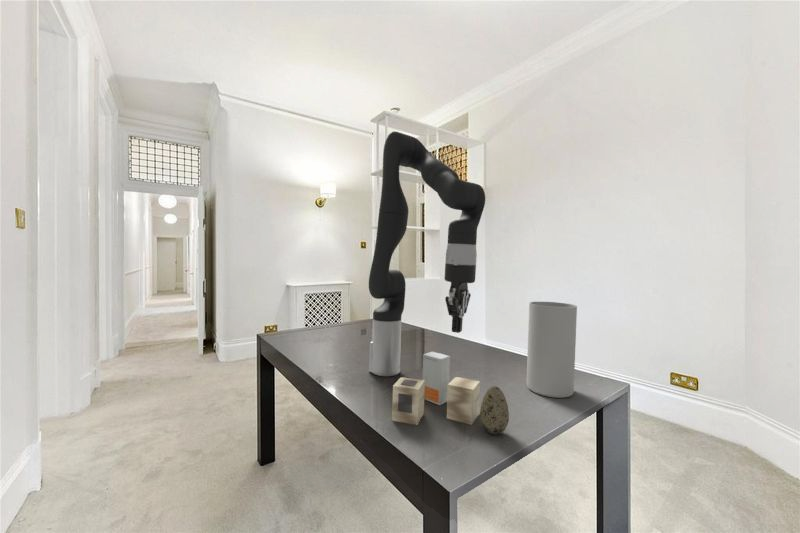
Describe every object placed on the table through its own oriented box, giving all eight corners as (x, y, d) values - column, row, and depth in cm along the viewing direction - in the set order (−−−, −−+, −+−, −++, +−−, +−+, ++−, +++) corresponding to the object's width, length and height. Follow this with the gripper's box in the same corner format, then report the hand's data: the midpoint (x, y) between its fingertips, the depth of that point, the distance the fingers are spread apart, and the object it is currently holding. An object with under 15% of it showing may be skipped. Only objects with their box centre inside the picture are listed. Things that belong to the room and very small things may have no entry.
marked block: (391, 420, 75) (392, 385, 75) (399, 409, 81) (400, 376, 81) (417, 425, 74) (418, 389, 73) (423, 413, 79) (424, 379, 79)
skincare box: (421, 398, 88) (422, 353, 87) (431, 394, 91) (432, 350, 91) (439, 406, 84) (441, 359, 83) (449, 401, 87) (450, 355, 86)
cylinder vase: (584, 396, 92) (587, 307, 92) (546, 401, 89) (550, 307, 88) (551, 380, 104) (554, 301, 104) (517, 383, 101) (520, 301, 100)
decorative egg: (503, 426, 74) (505, 381, 74) (511, 440, 68) (513, 392, 68) (476, 425, 74) (478, 380, 74) (482, 439, 68) (484, 391, 68)
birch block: (446, 418, 77) (447, 384, 77) (454, 408, 83) (455, 376, 82) (472, 425, 75) (473, 389, 74) (478, 414, 80) (479, 381, 80)
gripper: (454, 261, 90) (451, 325, 91) (436, 262, 78) (432, 334, 79) (482, 263, 86) (478, 329, 87) (467, 263, 75) (463, 339, 76)
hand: (456, 331), depth 83 cm, fingers closed
